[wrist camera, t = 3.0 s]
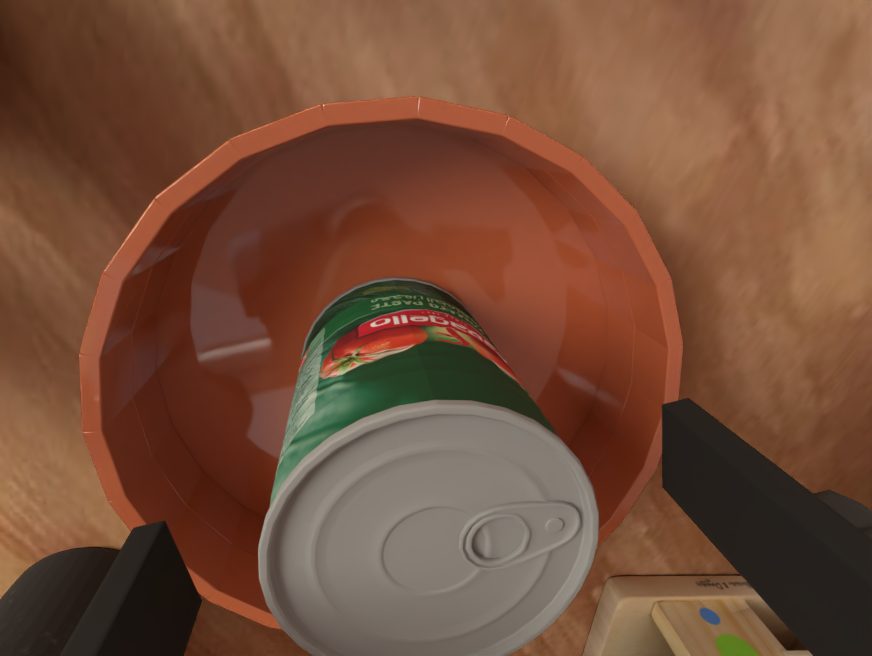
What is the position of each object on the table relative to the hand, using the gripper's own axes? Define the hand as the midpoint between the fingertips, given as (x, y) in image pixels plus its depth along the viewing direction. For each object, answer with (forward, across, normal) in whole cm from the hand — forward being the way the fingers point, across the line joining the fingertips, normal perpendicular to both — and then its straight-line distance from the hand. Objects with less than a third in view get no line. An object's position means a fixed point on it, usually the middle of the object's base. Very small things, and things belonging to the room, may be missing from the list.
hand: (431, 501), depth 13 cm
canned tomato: (+9, 0, 0) cm, 9 cm away
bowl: (+9, 0, 0) cm, 9 cm away
